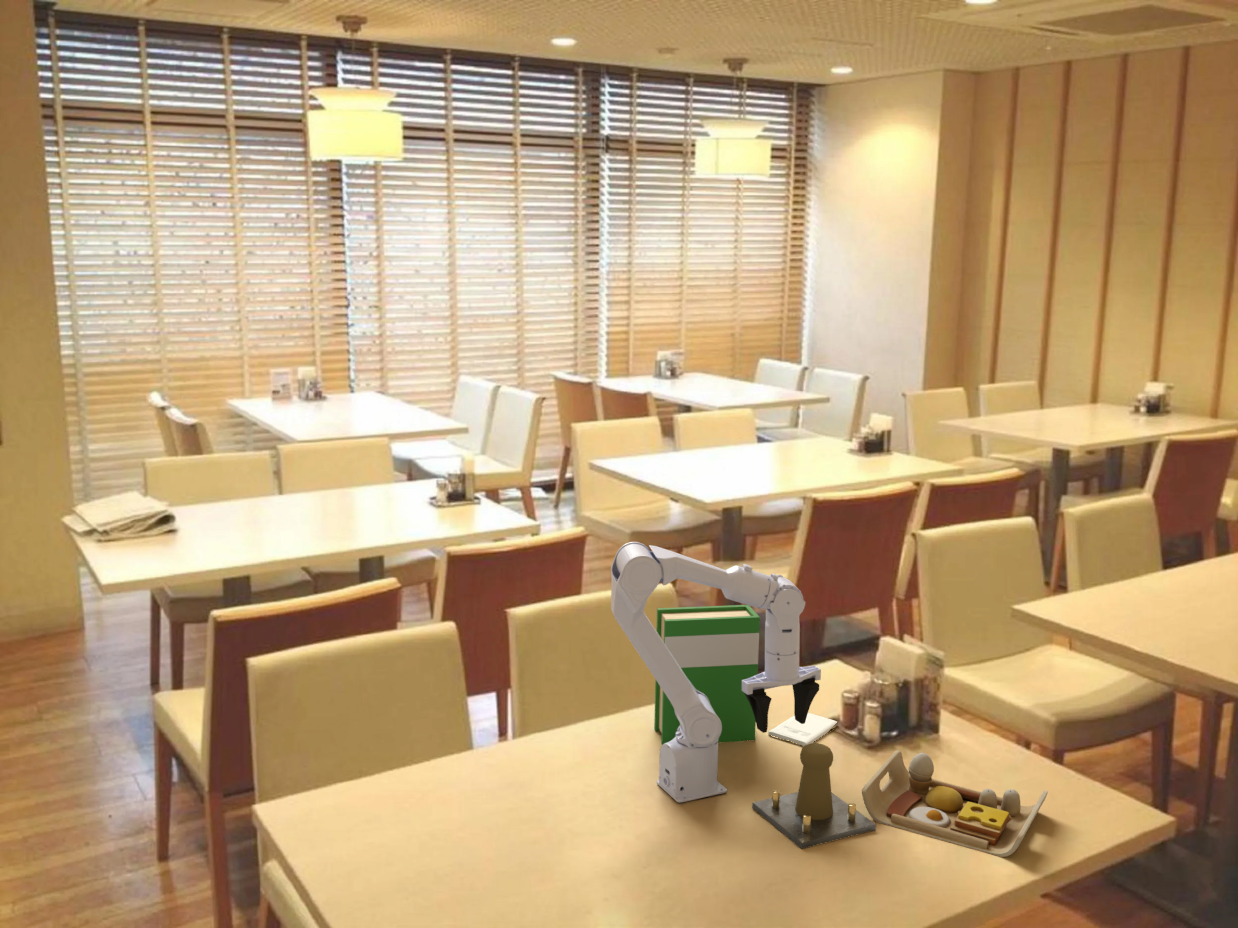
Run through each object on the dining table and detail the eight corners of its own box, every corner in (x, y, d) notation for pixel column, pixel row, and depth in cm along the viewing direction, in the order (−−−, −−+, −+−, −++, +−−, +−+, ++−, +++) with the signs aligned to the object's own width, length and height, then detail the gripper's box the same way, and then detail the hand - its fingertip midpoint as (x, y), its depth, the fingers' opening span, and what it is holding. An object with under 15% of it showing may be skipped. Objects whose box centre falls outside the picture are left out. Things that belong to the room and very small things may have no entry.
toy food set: (859, 819, 181) (861, 775, 179) (895, 776, 196) (898, 735, 194) (1021, 865, 168) (1025, 818, 166) (1046, 815, 183) (1050, 772, 181)
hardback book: (662, 745, 206) (665, 621, 201) (654, 729, 213) (657, 608, 208) (754, 740, 209) (759, 617, 204) (743, 724, 216) (748, 604, 211)
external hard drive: (837, 729, 216) (806, 750, 206) (800, 717, 221) (767, 738, 211) (838, 721, 215) (806, 742, 206) (800, 710, 220) (768, 729, 211)
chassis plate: (801, 848, 171) (802, 827, 170) (752, 807, 183) (753, 787, 182) (875, 829, 177) (876, 809, 176) (822, 791, 189) (823, 772, 188)
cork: (817, 798, 184) (820, 735, 182) (840, 814, 179) (844, 750, 177) (787, 806, 182) (790, 742, 180) (810, 822, 176) (813, 757, 174)
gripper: (804, 635, 194) (803, 709, 196) (732, 649, 188) (732, 724, 190) (828, 648, 187) (827, 724, 190) (754, 662, 182) (753, 740, 184)
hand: (781, 725), depth 190 cm, fingers open, 7 cm apart
